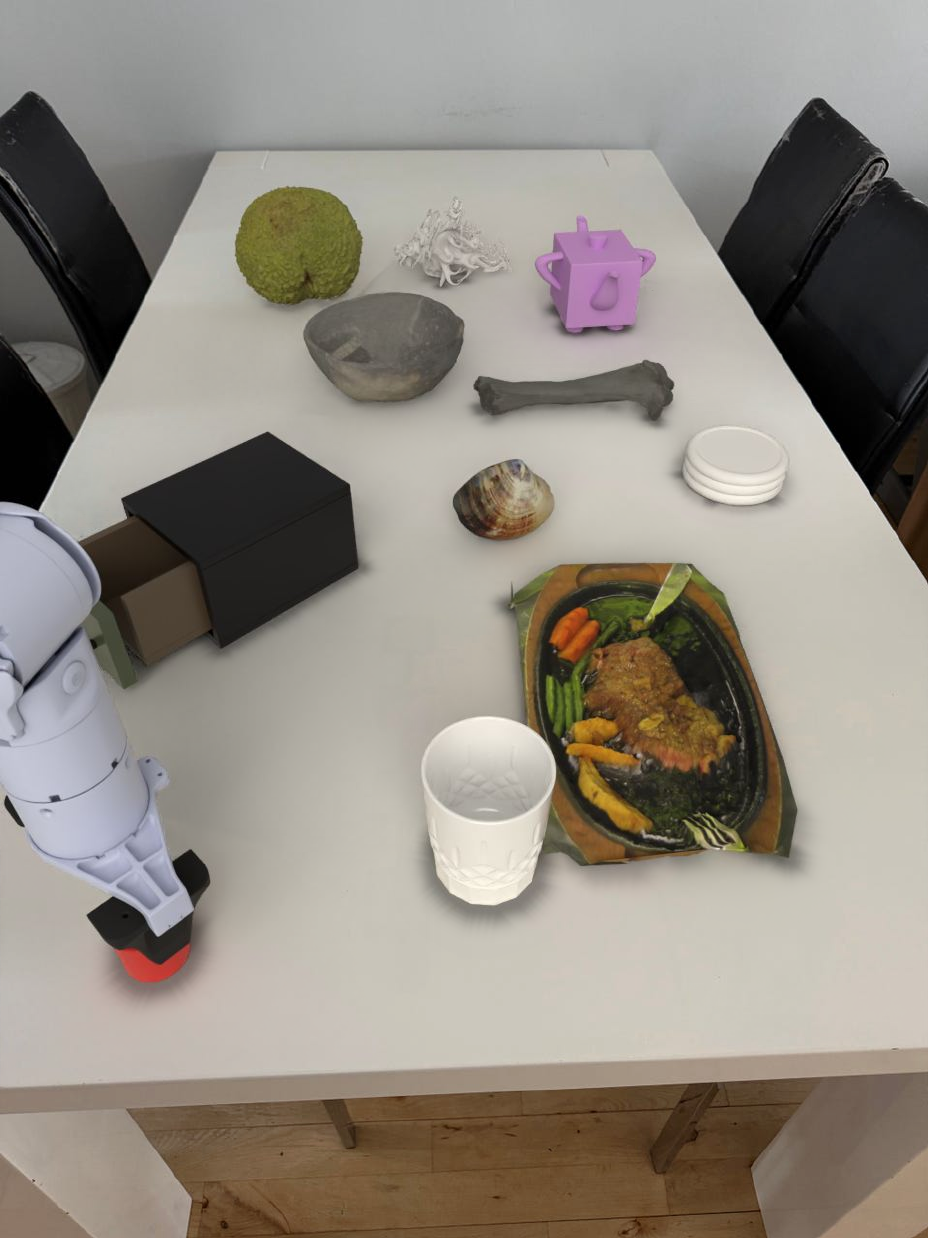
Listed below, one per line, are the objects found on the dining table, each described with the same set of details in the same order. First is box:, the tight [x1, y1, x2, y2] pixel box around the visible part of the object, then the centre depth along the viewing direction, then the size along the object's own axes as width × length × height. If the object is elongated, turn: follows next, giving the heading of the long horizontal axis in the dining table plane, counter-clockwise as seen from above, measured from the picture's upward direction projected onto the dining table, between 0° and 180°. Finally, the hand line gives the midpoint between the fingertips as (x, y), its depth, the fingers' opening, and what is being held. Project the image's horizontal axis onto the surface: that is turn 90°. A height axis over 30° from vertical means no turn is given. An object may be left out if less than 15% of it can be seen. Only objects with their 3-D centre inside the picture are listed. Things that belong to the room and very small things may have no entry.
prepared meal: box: [507, 562, 798, 867], centre depth 69 cm, size 28×4×18 cm
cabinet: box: [120, 431, 359, 649], centre depth 78 cm, size 15×12×9 cm
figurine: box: [393, 195, 514, 287], centre depth 125 cm, size 13×15×12 cm
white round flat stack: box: [681, 424, 790, 506], centre depth 91 cm, size 10×10×4 cm
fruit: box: [234, 185, 364, 306], centre depth 119 cm, size 16×14×15 cm
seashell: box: [452, 458, 556, 541], centre depth 83 cm, size 10×6×8 cm, turn 102°
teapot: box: [534, 215, 657, 334], centre depth 115 cm, size 15×13×11 cm
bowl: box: [302, 291, 466, 403], centre depth 103 cm, size 18×18×8 cm
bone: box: [473, 359, 675, 421], centre depth 99 cm, size 22×6×6 cm, turn 91°
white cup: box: [420, 715, 556, 906], centre depth 57 cm, size 8×8×10 cm
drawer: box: [77, 515, 212, 690], centre depth 72 cm, size 18×10×7 cm, turn 135°
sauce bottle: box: [113, 939, 192, 983], centre depth 53 cm, size 4×4×6 cm
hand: (135, 904), depth 51 cm, fingers open, 7 cm apart
